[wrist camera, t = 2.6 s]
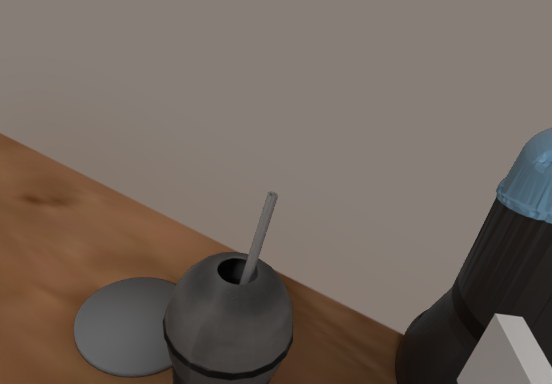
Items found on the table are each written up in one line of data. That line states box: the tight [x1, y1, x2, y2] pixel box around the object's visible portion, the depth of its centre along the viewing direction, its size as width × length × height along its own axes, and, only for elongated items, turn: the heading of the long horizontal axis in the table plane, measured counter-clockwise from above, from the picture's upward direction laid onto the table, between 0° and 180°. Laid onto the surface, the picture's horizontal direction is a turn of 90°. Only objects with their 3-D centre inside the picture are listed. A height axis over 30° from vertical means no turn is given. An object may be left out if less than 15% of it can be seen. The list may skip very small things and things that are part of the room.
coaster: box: [74, 278, 176, 377], centre depth 40 cm, size 10×10×1 cm
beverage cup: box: [163, 192, 293, 384], centre depth 27 cm, size 7×7×20 cm
